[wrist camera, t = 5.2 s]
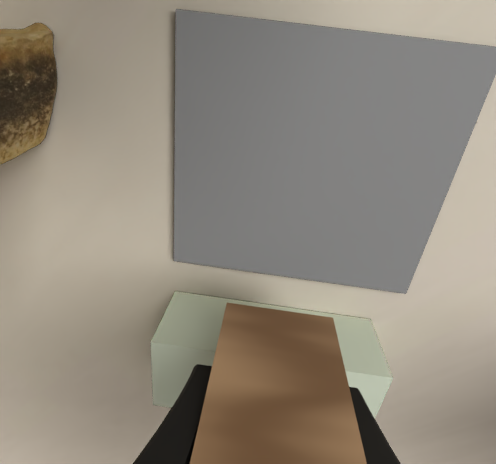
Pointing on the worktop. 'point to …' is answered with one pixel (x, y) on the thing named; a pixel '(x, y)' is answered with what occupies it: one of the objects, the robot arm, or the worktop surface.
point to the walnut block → (277, 393)
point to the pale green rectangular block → (207, 334)
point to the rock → (25, 88)
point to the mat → (317, 145)
